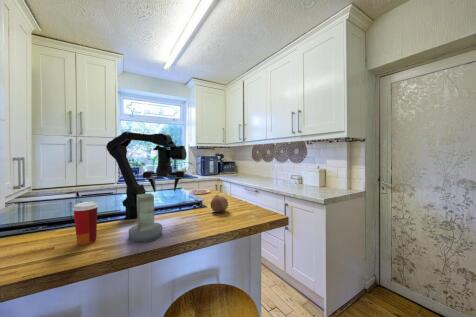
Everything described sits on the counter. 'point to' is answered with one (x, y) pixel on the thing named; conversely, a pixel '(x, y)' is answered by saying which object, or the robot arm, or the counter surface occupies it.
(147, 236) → the slate plinth
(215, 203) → the onion
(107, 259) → the counter surface
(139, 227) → the sage block
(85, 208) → the paper cup
